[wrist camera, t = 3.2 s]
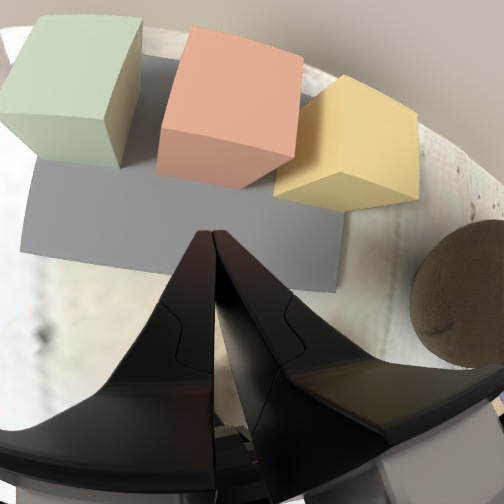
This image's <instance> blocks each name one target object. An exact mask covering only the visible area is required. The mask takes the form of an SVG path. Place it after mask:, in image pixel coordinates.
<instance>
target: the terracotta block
mask: <svg viewBox="0 0 504 504" xmlns="http://www.w3.org/2000/svg"><path fill="white" fill-rule="evenodd" d="M303 59H304V58H303V57H301V56H298V55H295V54H292V53H290V52H287V51H284V50H281V49H278V48H275V47H272V46H269V45H266V44H263V43H259V42H256V41H253V40H250V39H246V38H243V37H239V36H235V35H231V34H227V33H223V32H219V31H215V30H211V29H206V28H201V27H197V26H192V28H191V31H190V33H189V36H188V39H187V42H186V45H185V48H184V51H183V54H182V57H181V60H180V63H179V66H178V69H177V73H176V76H175V79H174V83H173V86H172V89H171V93H170V96H169V100H168V104H167V107H166V111H165V115H164V119H163V123H162V127H161V133H160V141H159V149H158V158H157V167H156V175H162V176H168V177H174V178H180V179H186V180H192V181H197V182H203V183H208V184H213V185H219V186H224V187H229V188H234V189H239V190H241V189H242V188H244V187H246V186H247V185H249V184H251V183H252V182H254V181H256V180H257V179H259V178H260V177H262V176H264V175H266V174H267V173H269V172H271V171H272V170H274V169H276V168H277V167H279V166H281V165H282V164H284V163H286V162H288V161H289V160H291V159H293V158H294V156H295V146H296V137H297V127H298V117H299V106H300V96H301V84H302V73H303Z"/></svg>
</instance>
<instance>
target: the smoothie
mask: <svg viewBox="0 0 504 504" xmlns="http://www.w3.org/2000/svg"><path fill="white" fill-rule="evenodd" d="M11 68H12V66H11V64H10V61H9V58H8V55H7V52H6V50H5V47H4V44H3V41H2V37H1V34H0V92H1V90H2V88H3V85H4V83H5V81H6V79H7V77H8V74H9V72H10V70H11Z"/></svg>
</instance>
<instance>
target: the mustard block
mask: <svg viewBox="0 0 504 504" xmlns="http://www.w3.org/2000/svg"><path fill="white" fill-rule="evenodd" d="M419 183H420V170H419V136H418V120H417V113H416V112H414V111H413V110H411V109H409V108H407V107H406V106H404V105H402V104H401V103H399V102H397V101H395V100H393V99H392V98H390V97H388V96H386V95H384V94H382V93H380V92H379V91H377V90H375V89H373V88H371V87H369V86H367V85H365V84H363V83H361V82H359V81H357V80H355V79H353V78H351V77H348V76H346V75H343V76H341V77H340V78H339V79H337V80H336V81H335V82H333V83H332V84H331V85H330V86H328V87H327V88H326V89H324V90H323V91H322V92H321V93H319V94H318V95H317V96H316V97H314V98H313V99H312V100H311V101H309V102H308V103H307V104H306V105H304V106H303V107H302V108H301V109H300V110H299V117H298V127H297V137H296V146H295V156H294V158H293V159H291V160H289V161H288V162H286V163H284V164H282V165H281V166H279V167H277V173H276V181H275V189H274V197H277V198H282V199H286V200H290V201H295V202H299V203H304V204H308V205H312V206H316V207H320V208H325V209H329V210H333V211H337V212H347V211H353V210H359V209H365V208H371V207H378V206H384V205H390V204H397V203H403V202H410V201H416V200H419Z"/></svg>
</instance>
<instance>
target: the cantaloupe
mask: <svg viewBox="0 0 504 504" xmlns="http://www.w3.org/2000/svg"><path fill="white" fill-rule="evenodd" d="M410 316H411V321H412V324H413V327H414V330H415V332H416V334H417V336H418V338H419V339H420V341H421V342H422V344H423V345H424V346H425V347H426V348H427V349H428V350H429V351H431V352H432V353H434V354H435V355H436V356H438V357H439V358H441V359H443V360H445V361H447V362H449V363H451V364H454V365H458V366H461V367H466V368H479V367H481V366H483V365H485V364H487V363H489V362H500V363H504V221H503V220H485V221H480V222H476V223H472V224H469V225H466V226H464V227H461V228H459V229H457V230H456V231H454V232H452V233H451V234H449V235H448V236H446V237H445V238H444V239H443V240H442V241H441V242H440V243H439V244H438V245H437V246H436V247H435V248H434V249H433V250H432V251H431V252H430V254H429V255H428V256H427V258H426V259H425V260H424V262H423V263H422V265H421V267H420V269H419V271H418V273H417V276H416V279H415V282H414V285H413V289H412V293H411V298H410Z"/></svg>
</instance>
